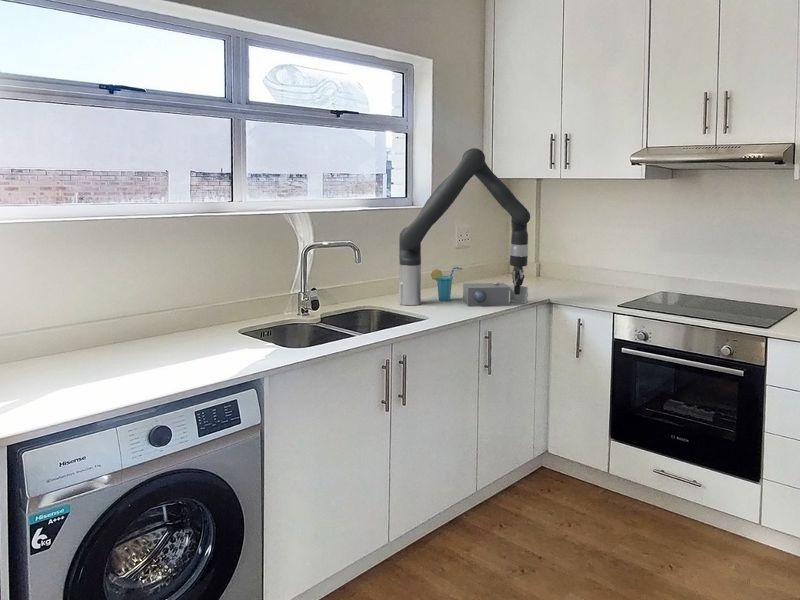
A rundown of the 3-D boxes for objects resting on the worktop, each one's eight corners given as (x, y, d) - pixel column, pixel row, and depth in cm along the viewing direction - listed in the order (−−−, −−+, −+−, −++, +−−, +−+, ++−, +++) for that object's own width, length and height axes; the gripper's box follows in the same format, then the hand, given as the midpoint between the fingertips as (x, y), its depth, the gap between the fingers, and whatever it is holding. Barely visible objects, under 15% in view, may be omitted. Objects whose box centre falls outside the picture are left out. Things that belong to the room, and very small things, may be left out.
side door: (526, 303, 299) (526, 286, 297) (502, 299, 306) (503, 284, 305) (527, 302, 300) (528, 286, 298) (504, 299, 307) (504, 283, 306)
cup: (458, 298, 313) (458, 265, 310) (464, 301, 305) (464, 267, 302) (428, 299, 309) (429, 266, 306) (433, 302, 302) (434, 268, 299)
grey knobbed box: (468, 307, 291) (469, 286, 290) (462, 301, 305) (463, 281, 303) (510, 306, 293) (511, 286, 291) (503, 300, 306) (503, 281, 305)
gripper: (506, 252, 302) (504, 291, 305) (514, 256, 289) (512, 296, 292) (523, 253, 302) (521, 291, 305) (531, 256, 289) (529, 297, 292)
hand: (516, 294), depth 298 cm, fingers closed
